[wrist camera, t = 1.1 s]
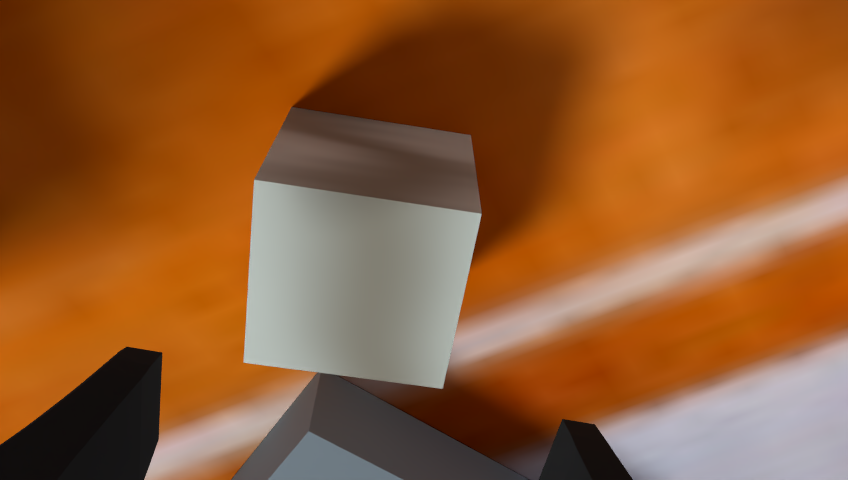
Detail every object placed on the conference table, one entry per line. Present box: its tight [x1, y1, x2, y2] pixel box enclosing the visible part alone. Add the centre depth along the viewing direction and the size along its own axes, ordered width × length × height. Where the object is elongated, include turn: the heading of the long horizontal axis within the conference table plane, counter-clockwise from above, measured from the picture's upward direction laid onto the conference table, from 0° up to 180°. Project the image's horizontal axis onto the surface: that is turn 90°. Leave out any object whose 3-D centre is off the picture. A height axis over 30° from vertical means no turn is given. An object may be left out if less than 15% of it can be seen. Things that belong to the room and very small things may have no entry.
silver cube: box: [244, 107, 482, 389], centre depth 19 cm, size 5×5×5 cm
